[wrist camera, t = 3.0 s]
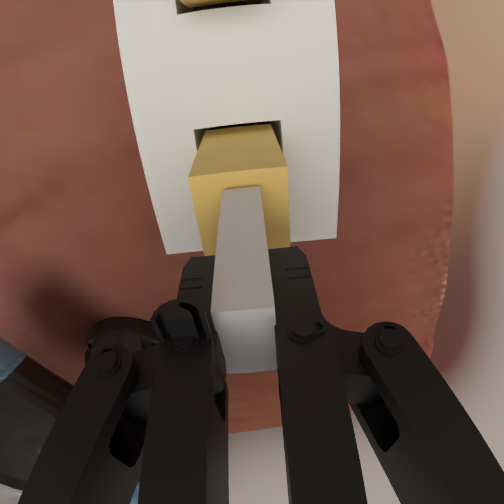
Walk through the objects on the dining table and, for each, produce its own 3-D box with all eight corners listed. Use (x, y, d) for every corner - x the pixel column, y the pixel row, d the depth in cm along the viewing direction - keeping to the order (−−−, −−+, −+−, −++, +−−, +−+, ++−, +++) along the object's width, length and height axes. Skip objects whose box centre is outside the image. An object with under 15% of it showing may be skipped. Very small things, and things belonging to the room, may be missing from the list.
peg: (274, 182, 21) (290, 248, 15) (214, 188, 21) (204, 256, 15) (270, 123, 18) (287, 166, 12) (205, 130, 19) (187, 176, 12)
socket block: (313, 189, 28) (336, 238, 22) (182, 202, 29) (166, 254, 22) (295, -70, 14) (317, -109, 8) (142, -52, 15) (107, -82, 8)
